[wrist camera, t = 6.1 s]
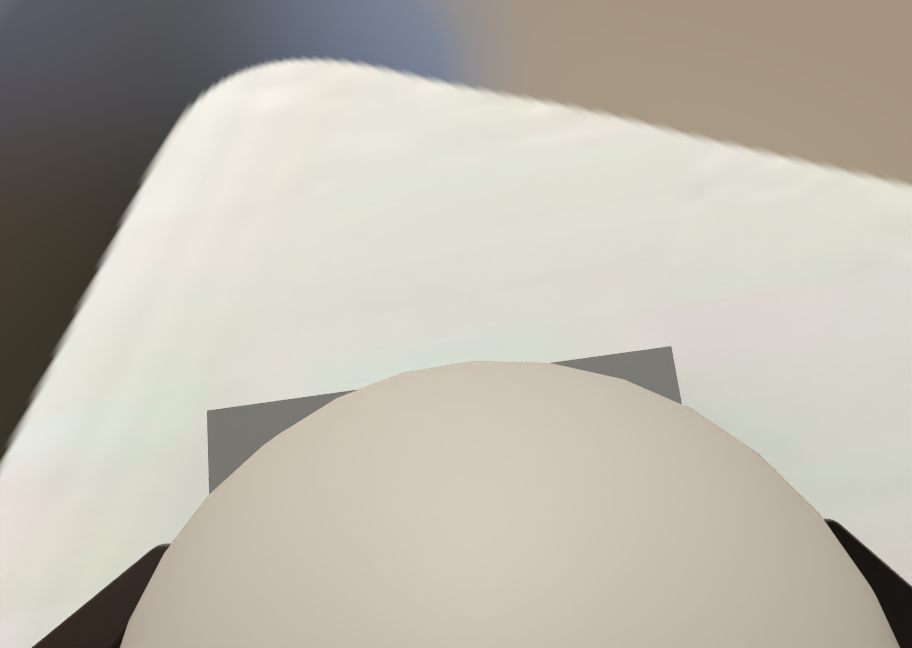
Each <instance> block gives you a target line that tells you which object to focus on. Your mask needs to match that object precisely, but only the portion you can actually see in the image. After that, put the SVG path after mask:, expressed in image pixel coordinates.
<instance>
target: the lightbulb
mask: <svg viewBox="0 0 912 648" xmlns="http://www.w3.org/2000/svg"><path fill="white" fill-rule="evenodd" d="M120 648H900V647H899V645H898V642H897V640H896V638H895V636H894V634H893V632H892V630H891V627H890V625H889V623H888V621H887V619H886V617H885V614H884V612H883V610H882V608H881V606H880V604H879V601H878V599H877V597H876V595H875V593H874V592H873V590H872V588H871V586H870V585H869V583H868V582H867V580H866V579H865V578H864V576H863V575H862V573H861V572H860V571H859V569H858V568H857V566H856V565H855V563H854V562H853V561H852V559H851V558H850V556H849V555H848V553H847V552H846V551H845V549H844V548H843V546H842V545H841V544H840V542H839V541H838V539H837V538H836V536H835V535H834V534H833V532H832V531H831V529H830V528H829V527H828V525H827V524H826V522H825V521H824V519H823V518H822V517H821V515H820V514H819V512H818V511H817V510H815V509H814V508H813V507H812V506H811V505H810V504H809V503H808V502H807V501H806V500H805V499H804V498H803V497H802V496H801V495H800V494H799V493H798V492H797V491H796V490H795V489H794V488H793V487H792V486H791V485H790V484H789V483H788V482H787V481H786V480H785V479H784V478H783V477H782V476H781V475H780V474H779V473H778V472H777V471H776V470H775V469H774V468H773V467H772V466H771V465H770V464H769V463H768V462H767V461H766V460H765V459H764V458H763V457H762V456H761V455H760V454H758V453H757V452H755V451H754V450H752V449H751V448H749V447H748V446H747V445H745V444H744V443H742V442H741V441H739V440H738V439H736V438H735V437H733V436H732V435H730V434H729V433H727V432H726V431H724V430H723V429H721V428H720V427H718V426H717V425H715V424H714V423H712V422H711V421H710V420H708V419H707V418H705V417H704V416H702V415H701V414H699V413H698V412H696V411H695V410H693V409H691V408H689V407H686V406H684V405H682V404H680V403H677V402H675V401H673V400H670V399H668V398H666V397H663V396H661V395H659V394H656V393H654V392H652V391H649V390H647V389H645V388H643V387H640V386H638V385H636V384H633V383H631V382H629V381H626V380H624V379H620V378H615V377H611V376H606V375H602V374H597V373H593V372H588V371H584V370H579V369H575V368H570V367H566V366H561V365H557V364H551V363H528V362H488V361H470V362H464V363H458V364H452V365H446V366H440V367H435V368H429V369H423V370H417V371H411V372H405V373H401V374H399V375H396V376H393V377H391V378H388V379H385V380H383V381H380V382H378V383H375V384H372V385H370V386H367V387H364V388H362V389H359V390H357V391H354V392H351V393H349V394H346V395H343V396H341V397H338V398H336V399H335V400H333V401H331V402H330V403H328V404H327V405H325V406H323V407H322V408H320V409H319V410H317V411H315V412H314V413H312V414H311V415H309V416H307V417H306V418H304V419H302V420H301V421H299V422H298V423H296V424H294V425H293V426H291V427H290V428H288V429H286V430H285V431H283V432H281V433H280V434H278V435H277V436H275V437H274V438H273V439H271V440H270V441H269V442H267V443H266V444H264V445H263V446H262V447H261V448H260V449H259V450H257V451H256V452H255V453H254V454H253V455H252V456H251V457H250V458H249V459H248V460H246V461H245V462H244V463H243V464H242V465H241V466H240V467H239V468H238V469H237V470H235V471H234V472H233V473H232V474H231V475H230V476H229V477H228V478H227V479H226V480H225V481H223V482H222V483H221V484H220V485H219V486H218V487H217V488H216V489H215V490H214V491H212V492H211V493H210V494H209V495H208V497H207V498H206V499H205V501H204V502H203V503H202V504H201V506H200V507H199V508H198V510H197V511H196V512H195V514H194V515H193V516H192V518H191V519H190V520H189V521H188V523H187V524H186V525H185V527H184V528H183V529H182V531H181V532H180V533H179V535H178V536H177V537H176V538H175V540H174V541H173V542H172V544H171V545H170V546H169V548H168V549H167V550H166V552H165V553H164V555H163V556H162V558H161V560H160V562H159V564H158V566H157V568H156V570H155V572H154V574H153V576H152V578H151V579H150V581H149V583H148V585H147V587H146V589H145V591H144V593H143V595H142V597H141V599H140V600H139V602H138V604H137V606H136V608H135V610H134V612H133V614H132V616H131V618H130V620H129V622H128V625H127V628H126V631H125V634H124V637H123V640H122V643H121V646H120Z"/></svg>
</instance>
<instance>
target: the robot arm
mask: <svg viewBox="0 0 912 648" xmlns="http://www.w3.org/2000/svg"><path fill="white" fill-rule="evenodd" d="M824 521H825V522H826V524H827V525H828V527H829V528H830V529H831V531H832V532H833V534H834V535H835V536H836V538H837V539H838V541H839V542H840V544H841V545H842V546H843V548H844V549H845V551H846V552H847V553H848V555H849V556H850V558H851V559H852V561H853V562H854V563H855V565H856V566H857V568H858V569H859V571H860V572H861V573H862V575H863V576H864V578H865V579H866V580H867V582H868V583H869V585H870V586H871V588H872V590H873V592H874V593H875V595H876V597H877V599H878V601H879V604H880V606H881V608H882V610H883V612H884V614H885V617H886V619H887V621H888V623H889V625H890V627H891V630H892V632H893V634H894V636H895V638H896V640H897V642H898V645H899V647H900V648H912V586H911V585H910V584H909V583H907V582H906V581H905V580H904V579H903V578H902V577H900V576H899V575H898V574H897V573H896V572H895V571H894V570H892V569H891V568H890V567H889V566H888V565H887V564H886V563H884V562H883V561H882V560H881V559H880V558H879V557H877V556H876V555H875V554H874V553H873V552H872V551H871V550H869V549H868V548H867V547H866V546H865V545H864V544H863V543H861V542H860V541H859V540H858V539H857V538H856V537H855V536H853V535H852V534H851V533H850V532H849V531H848V530H846V529H845V528H844V527H843V526H842V525H841V524H839V523H838V522H836V521H834V520H831V519H824ZM170 545H171V544H162V545H158V546H156V547H155V548H153V549H152V550H150V551H149V552H148V553H147V554H146V555H144V556H143V557H142V558H141V559H139V560H138V561H137V562H136V563H135V564H133V565H132V566H131V567H130V568H128V569H127V570H126V571H125V572H124V573H122V574H121V575H120V576H119V577H117V578H116V579H115V580H114V581H113V582H111V583H110V584H109V585H108V586H106V587H105V588H104V589H103V590H102V591H100V592H99V593H98V594H97V595H95V596H94V597H93V598H92V599H91V600H89V601H88V602H87V603H86V604H84V605H83V606H82V607H81V608H80V609H78V610H77V611H76V612H75V613H74V614H72V615H71V616H70V617H69V618H67V619H66V620H65V621H64V622H63V623H61V624H60V625H59V626H58V627H56V628H55V629H54V630H53V631H52V632H50V633H49V634H48V635H47V636H45V637H44V638H43V639H42V640H41V641H39V642H38V643H37V644H36V645H34V646H33V647H32V648H120V646H121V643H122V640H123V637H124V634H125V631H126V628H127V625H128V622H129V620H130V618H131V616H132V614H133V612H134V610H135V608H136V606H137V604H138V602H139V600H140V599H141V597H142V595H143V593H144V591H145V589H146V587H147V585H148V583H149V581H150V579H151V578H152V576H153V574H154V572H155V570H156V568H157V566H158V564H159V562H160V560H161V558H162V556H163V555H164V553H165V552H166V550H167V549H168V548H169V546H170Z"/></svg>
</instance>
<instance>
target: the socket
mask: <svg viewBox="0 0 912 648" xmlns="http://www.w3.org/2000/svg"><path fill="white" fill-rule="evenodd" d="M551 364H557V365H561V366H566V367H570V368H575V369H579V370H584V371H588V372H593V373H597V374H602V375H606V376H611V377H615V378H620V379H624V380H626V381H629V382H631V383H633V384H636V385H638V386H640V387H643V388H645V389H647V390H649V391H652V392H654V393H656V394H659V395H661V396H663V397H666V398H668V399H670V400H673V401H675V402H677V403H680V404H682V403H681V398H680V392H679V387H678V381H677V376H676V370H675V365H674V359H673V354H672V348H671V346H669V347H662V348H655V349H648V350H641V351H633V352H626V353H619V354H612V355H605V356H597V357H590V358H583V359H576V360H569V361H561V362H554V363H551ZM354 391H357V390H353V391H346V392H338V393H331V394H324V395H317V396H310V397H302V398H295V399H288V400H281V401H274V402H266V403H259V404H252V405H245V406H238V407H230V408H223V409H216V410H209V411H207V427H208V464H209V494H210V493H211V492H212V491H214V490H215V489H216V488H217V487H218V486H219V485H220V484H221V483H222V482H223V481H225V480H226V479H227V478H228V477H229V476H230V475H231V474H232V473H233V472H234V471H235V470H237V469H238V468H239V467H240V466H241V465H242V464H243V463H244V462H245V461H246V460H248V459H249V458H250V457H251V456H252V455H253V454H254V453H255V452H256V451H257V450H259V449H260V448H261V447H262V446H263V445H264V444H266V443H267V442H269V441H270V440H271V439H273V438H274V437H275V436H277V435H278V434H280V433H281V432H283V431H285V430H286V429H288V428H290V427H291V426H293V425H294V424H296V423H298V422H299V421H301V420H302V419H304V418H306V417H307V416H309V415H311V414H312V413H314V412H315V411H317V410H319V409H320V408H322V407H323V406H325V405H327V404H328V403H330V402H331V401H333V400H335V399H336V398H338V397H341V396H343V395H346V394H349V393H351V392H354Z"/></svg>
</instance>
